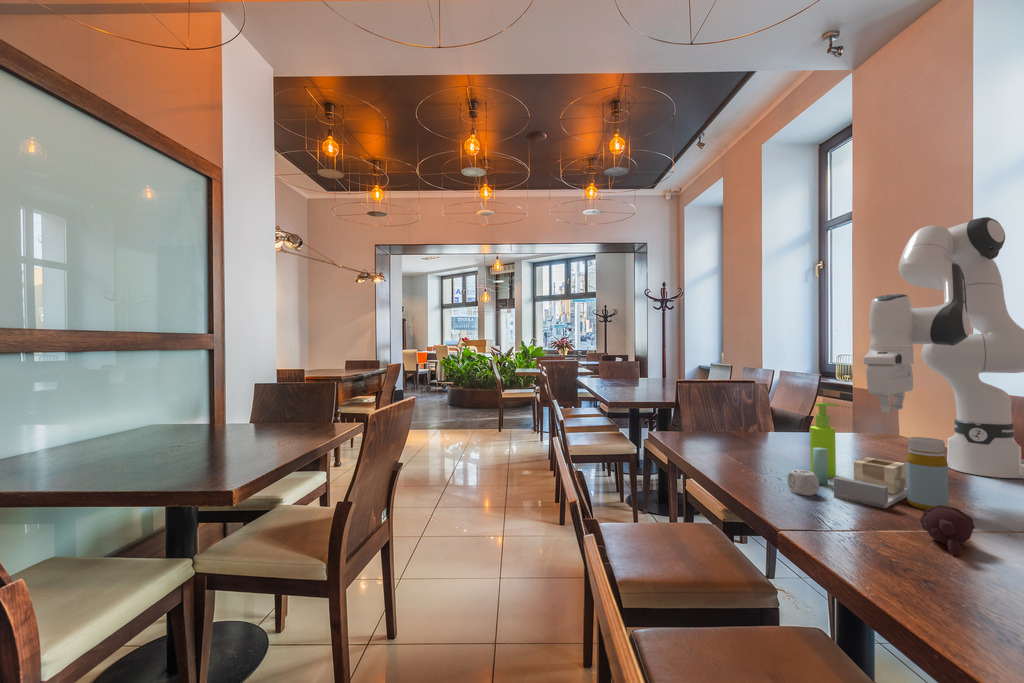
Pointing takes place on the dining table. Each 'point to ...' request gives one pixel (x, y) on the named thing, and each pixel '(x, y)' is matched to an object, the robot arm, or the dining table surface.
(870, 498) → the grey l-shaped tray
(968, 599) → the dining table surface
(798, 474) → the die
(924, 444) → the bottle
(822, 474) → the dowel
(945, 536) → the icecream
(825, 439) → the soap dispenser
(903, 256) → the robot arm
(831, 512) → the dining table surface
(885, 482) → the block
